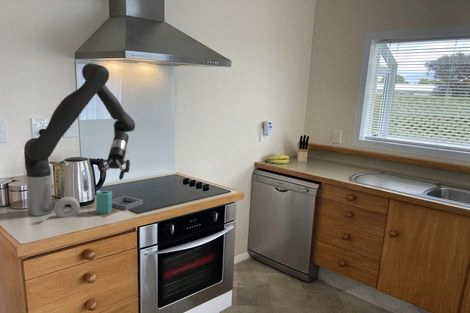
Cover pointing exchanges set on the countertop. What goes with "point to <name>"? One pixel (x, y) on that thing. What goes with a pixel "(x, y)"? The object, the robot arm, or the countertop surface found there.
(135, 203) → the grey square ring
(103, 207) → the sleeve
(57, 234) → the countertop surface
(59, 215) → the donut
